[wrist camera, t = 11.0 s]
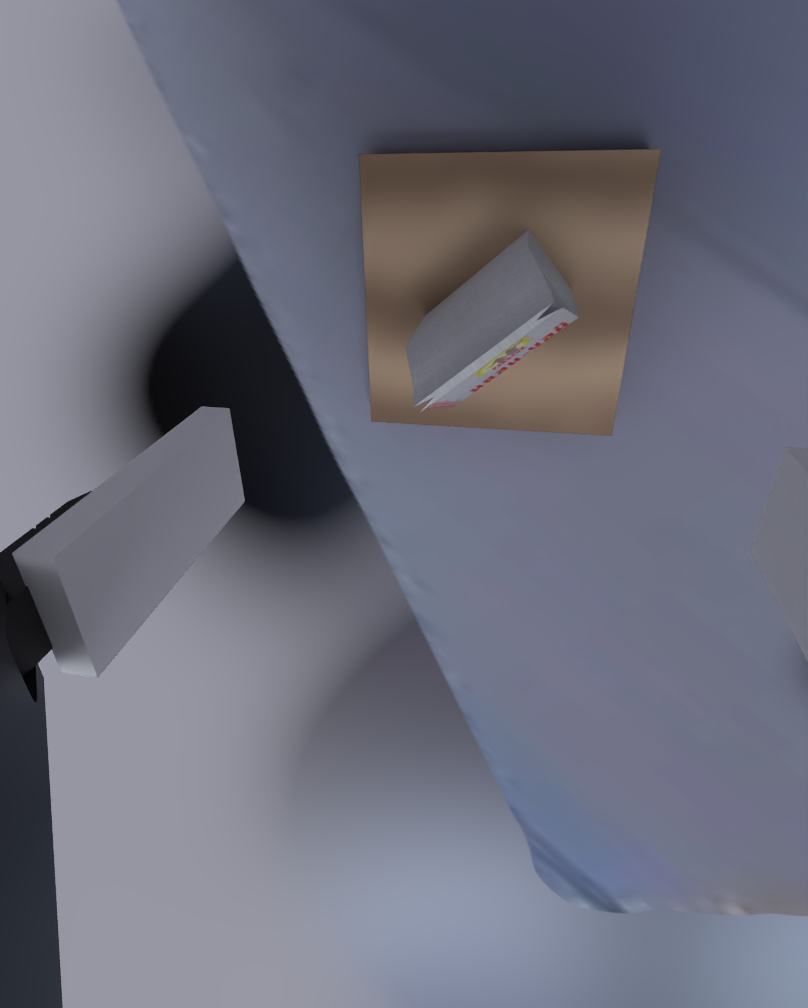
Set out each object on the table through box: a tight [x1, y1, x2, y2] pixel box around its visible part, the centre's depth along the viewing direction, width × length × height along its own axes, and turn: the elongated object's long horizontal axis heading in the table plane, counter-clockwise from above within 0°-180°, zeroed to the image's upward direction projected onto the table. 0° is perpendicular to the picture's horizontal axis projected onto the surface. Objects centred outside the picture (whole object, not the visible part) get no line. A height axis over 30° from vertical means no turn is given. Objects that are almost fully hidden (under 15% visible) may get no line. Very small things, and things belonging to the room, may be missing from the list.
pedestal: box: [359, 149, 661, 436], centre depth 33 cm, size 14×14×3 cm
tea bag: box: [405, 229, 578, 412], centre depth 28 cm, size 4×7×10 cm, turn 131°
